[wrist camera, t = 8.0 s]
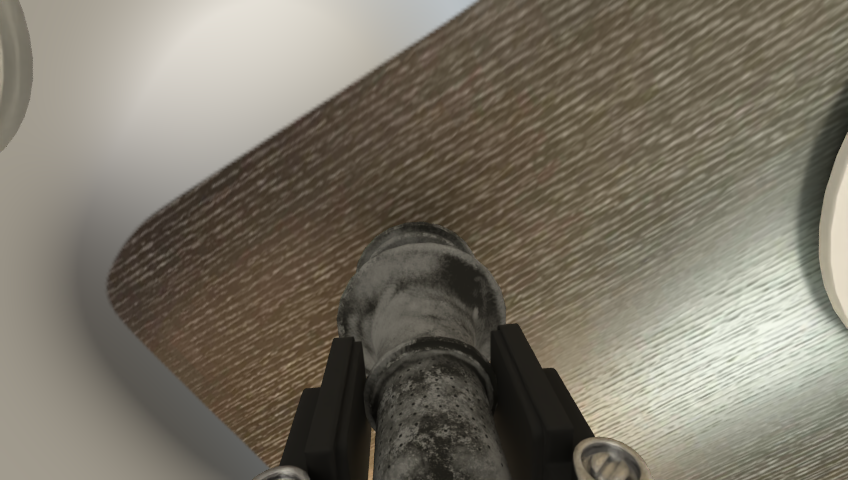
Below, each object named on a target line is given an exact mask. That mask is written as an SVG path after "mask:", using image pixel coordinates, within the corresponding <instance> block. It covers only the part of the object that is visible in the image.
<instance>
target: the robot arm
mask: <svg viewBox="0 0 848 480" xmlns="http://www.w3.org/2000/svg"><path fill="white" fill-rule="evenodd" d="M490 364H491V366H492V367H493V369H494V371H495V374H496V377H497V382H498V403H497V407H496V410H495V413H494V416H493V418H494V421H495V424H496V428H497V431H498V434H499V437H500V441H501V444H502V447H503V451H504V454H505V457H506V460H507V464H508V467H509V470H510V473H511V477H512V480H654V478H653V476H652V474H651V472H650V470H649V468H648V466H647V464H646V463H645V461H644V460H643V459H642V457H641V456H640V455H639V454H638V453H637V452H636V451H635V450H633V449H632V448H631V447H629V446H627V445H626V444H624V443H622V442H620V441H617V440H614V439H611V438H605V437H595V436H594V434H593V432H592V431H591V429H590V427H589V426H588V424H587V422H586V420H585V419H584V417H583V415H582V414H581V412H580V410H579V408H578V407H577V405H576V403H575V402H574V400H573V398H572V397H571V395H570V393H569V391H568V390H567V388H566V386H565V385H564V383H563V381H562V379H561V378H560V376H559V374H558V373H557V371H556V370H555V369H554V368H544V369H542V367H541V365H540V364H539V362H538V360H537V358H536V356H535V354H534V352H533V351H532V349H531V347H530V345H529V343H528V341H527V339H526V338H525V336H524V334H523V332H522V330H521V328H520V326H519V325H518V324H504V325H498V326H497V330H493V331H491V334H490ZM365 383H366V372H365V363H364V354H363V346H362V341H355V339H354V336H353V337H340V338H334V339H333V342H332V346H331V350H330V353H329V357H328V361H327V365H326V369H325V373H324V377H323V381H322V385H321V387H318V388H306V389H304V390H303V393H302V395H301V398H300V402H299V405H298V408H297V411H296V414H295V417H294V421H293V424H292V427H291V430H290V433H289V436H288V440H287V443H286V446H285V449H284V452H283V456H282V459H281V462H280V465H279V466H278V467H274V468H271V469H268V470H266V471H264V472H263V473H261V474H259V475H257V476H256V477H255V478H253V479H252V480H368V469H369V456H370V442H371V426H370V424H369V421H368V419H367V417H366V413H365V405H364V395H363V393H364V387H365Z"/></svg>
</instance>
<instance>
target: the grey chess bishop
mask: <svg viewBox="0 0 848 480" xmlns="http://www.w3.org/2000/svg"><path fill="white" fill-rule="evenodd" d="M504 324H506V306H505V303H504V299H503V295H502V292H501V288H500V287H499V285H498V284H497V282H496V280H495V279H494V277H493V276H492V274H491V273H490V271H489V270H488V269H487V268H486V267H485V266H484V265H482V264H481V263H480V262H479V261H478V260H477V259H476V258H475V256H474V254H473V253H472V251H471V250H470V248H469V246H468V245H467V243H466V242H465V241H464V240H463V239H461V238H460V237H459V236H458V235H457V234H456V233H455V232H453V231H451V230H449V229H447V228H445V227H443V226H441V225H437V224H432V223H427V222H409V223H403V224H400V225H397V226H394V227H391V228H389V229H387V230H386V231H384V232H383V233H381V234H379V235H378V236H376V237H375V238H374V239H373V240H372V241H371V243H370V244H369V245H368V246H367V247H366V248H365V249H364V251H363V253H362V255H361V257H360V259H359V261H358V264H357V270H356V274H355V275H354V276H353V277H352V278H351V279H350V281H349V283H348V285H347V287H346V288H345V290H344V292H343V294H342V296H341V299H340V304H339V309H338V315H337V326H338V334H339V338H340V337H353V336H354V339H355V341H362V346H363V354H364V363H365V372H366V377H367V379H366V383H365V387H364V393H363V395H364V405H365V413H366V417H367V419H368V421H369V424H370V426H371V427H372V428H373V429H374V430H375V432H376V436H375V453H374V470H373V480H512V477H511V473H510V470H509V467H508V464H507V460H506V457H505V454H504V451H503V447H502V444H501V441H500V437H499V434H498V431H497V428H496V424H495V421H494V418H493V416H494V413H495V410H496V407H497V403H498V382H497V377H496V374H495V371H494V369H493V367H492V366H491V364H490V363H489V361H490V334H491V331H493V330H497V326H498V325H504Z"/></svg>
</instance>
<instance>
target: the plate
mask: <svg viewBox="0 0 848 480" xmlns="http://www.w3.org/2000/svg"><path fill="white" fill-rule="evenodd" d="M819 262H820V267H821V272H822V278H823V283H824V287H825V290H826V292H827V294H828V297H829V299H830V302H831V304H832V307H833V309H834V311H835V312H836V314H837V315H838V316H839V318H840V319H841V321H842V322H843V323H844V325H845V326H846V328H847V329H848V133H847V135H846V137H845V139H844V141H843V143H842V146H841V148H840V150H839V152H838V154H837V156H836V160H835V163H834V166H833V169H832V172H831V175H830V178H829V181H828V185H827V188H826V191H825V195H824V201H823V207H822V213H821V219H820V225H819Z"/></svg>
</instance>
